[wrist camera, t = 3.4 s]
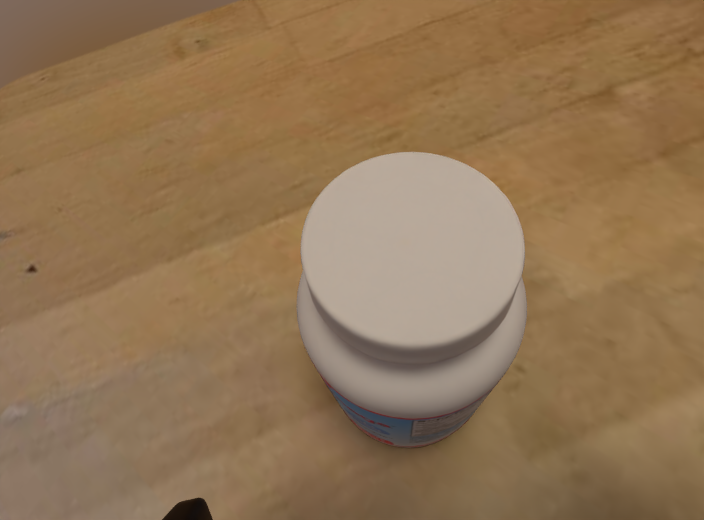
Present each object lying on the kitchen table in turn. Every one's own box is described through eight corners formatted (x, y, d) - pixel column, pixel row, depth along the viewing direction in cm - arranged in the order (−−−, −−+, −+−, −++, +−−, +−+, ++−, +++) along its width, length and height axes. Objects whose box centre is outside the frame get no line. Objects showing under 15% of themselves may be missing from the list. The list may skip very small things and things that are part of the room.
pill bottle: (311, 344, 21) (222, 194, 11) (433, 280, 21) (454, 86, 12) (377, 481, 18) (340, 450, 8) (514, 403, 19) (634, 286, 9)
